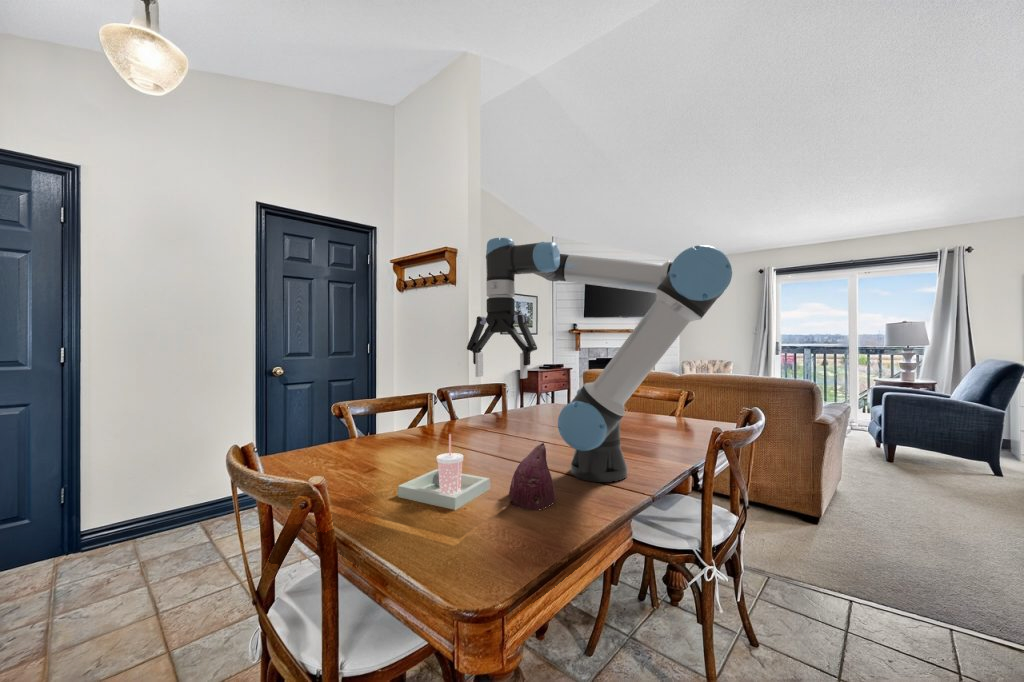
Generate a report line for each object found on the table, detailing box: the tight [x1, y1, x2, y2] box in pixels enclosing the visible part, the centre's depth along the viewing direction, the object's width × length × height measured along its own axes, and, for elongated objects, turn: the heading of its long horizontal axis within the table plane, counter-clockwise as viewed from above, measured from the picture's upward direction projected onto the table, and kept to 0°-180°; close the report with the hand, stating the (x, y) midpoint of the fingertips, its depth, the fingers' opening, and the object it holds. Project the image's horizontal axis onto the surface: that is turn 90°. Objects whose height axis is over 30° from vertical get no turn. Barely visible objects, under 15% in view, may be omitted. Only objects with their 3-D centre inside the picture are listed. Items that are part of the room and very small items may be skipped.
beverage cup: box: [436, 433, 464, 495], centre depth 95 cm, size 6×6×14 cm
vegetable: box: [508, 442, 555, 511], centre depth 94 cm, size 10×10×15 cm
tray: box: [397, 468, 491, 511], centre depth 97 cm, size 16×14×4 cm
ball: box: [433, 473, 439, 486], centre depth 101 cm, size 3×3×3 cm
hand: (501, 377), depth 110 cm, fingers open, 13 cm apart
